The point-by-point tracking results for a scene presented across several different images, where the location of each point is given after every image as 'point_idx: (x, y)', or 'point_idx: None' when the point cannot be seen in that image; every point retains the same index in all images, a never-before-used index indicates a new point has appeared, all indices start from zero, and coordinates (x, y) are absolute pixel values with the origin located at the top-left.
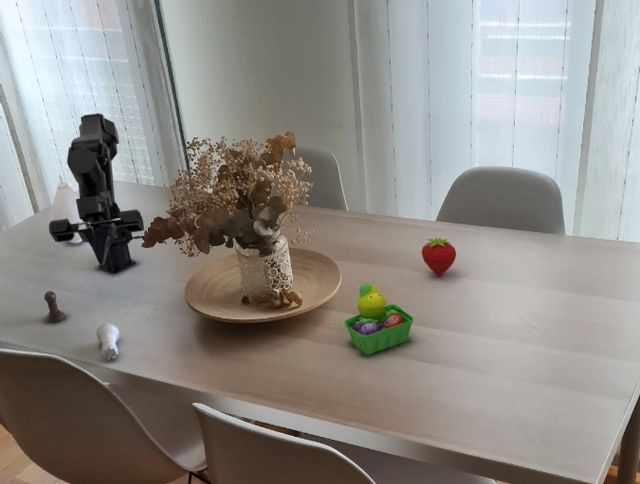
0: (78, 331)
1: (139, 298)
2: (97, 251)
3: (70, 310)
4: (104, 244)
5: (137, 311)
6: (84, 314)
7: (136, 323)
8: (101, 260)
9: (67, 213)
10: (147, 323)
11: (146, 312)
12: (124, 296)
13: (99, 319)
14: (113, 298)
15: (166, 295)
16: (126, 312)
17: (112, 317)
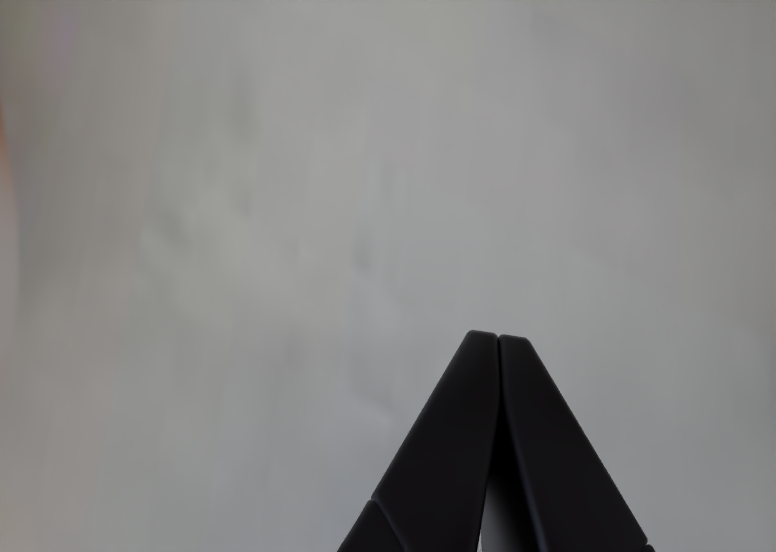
0: (694, 137)
1: (251, 438)
2: (541, 465)
3: (746, 480)
4: (373, 539)
5: (291, 246)
6: (647, 368)
7: (318, 83)
8: (487, 352)
9: None
10: (252, 54)
11: (236, 205)
12: (348, 524)
13: (548, 245)
14: None
15: (69, 396)
16: (363, 265)
17: (460, 235)
